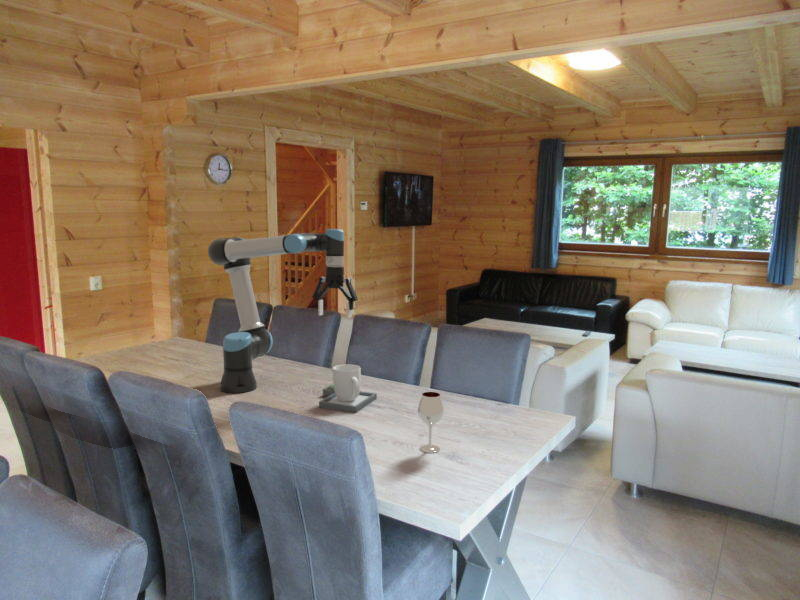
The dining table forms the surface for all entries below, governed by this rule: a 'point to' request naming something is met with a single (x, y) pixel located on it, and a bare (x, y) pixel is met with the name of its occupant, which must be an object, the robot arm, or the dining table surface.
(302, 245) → the robot arm
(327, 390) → the grey square frame
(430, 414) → the wineglass
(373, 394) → the tray
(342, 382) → the mug
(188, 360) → the dining table surface
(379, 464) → the dining table surface
